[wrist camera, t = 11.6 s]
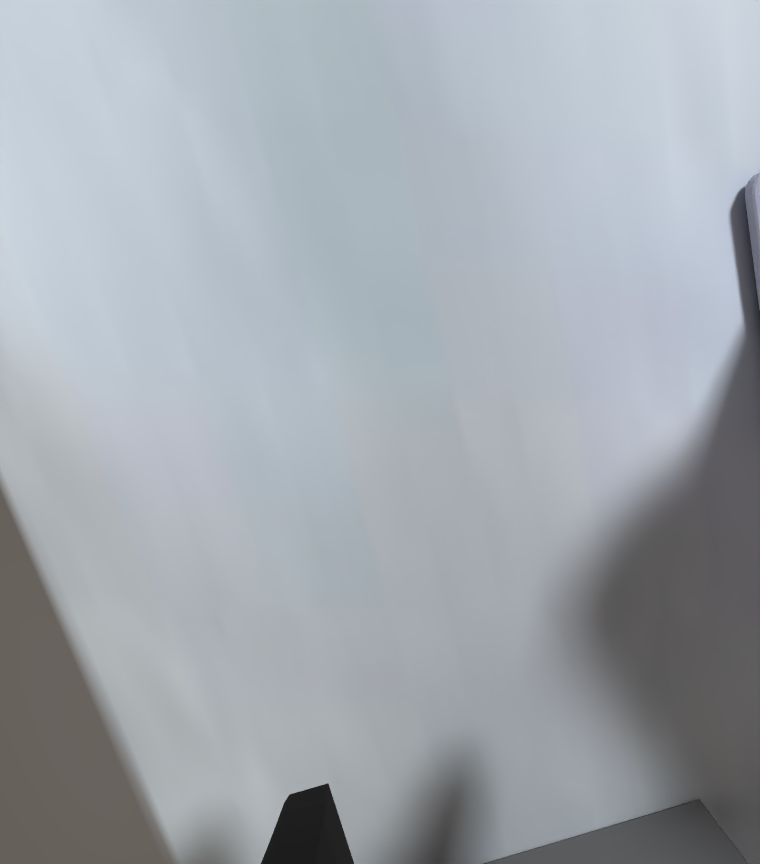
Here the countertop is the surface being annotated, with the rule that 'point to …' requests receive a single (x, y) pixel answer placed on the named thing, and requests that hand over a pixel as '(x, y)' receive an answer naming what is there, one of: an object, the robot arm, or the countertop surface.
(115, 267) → the countertop surface
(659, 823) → the charcoal plinth
